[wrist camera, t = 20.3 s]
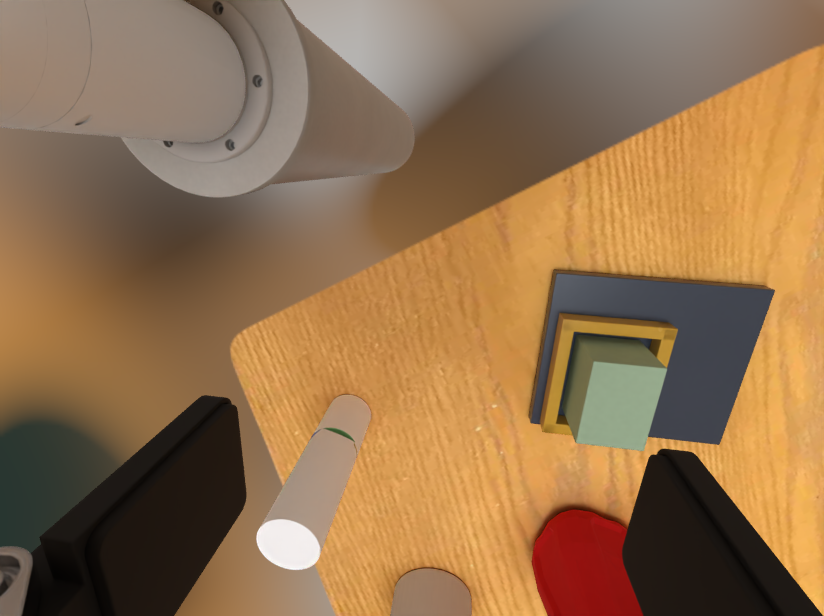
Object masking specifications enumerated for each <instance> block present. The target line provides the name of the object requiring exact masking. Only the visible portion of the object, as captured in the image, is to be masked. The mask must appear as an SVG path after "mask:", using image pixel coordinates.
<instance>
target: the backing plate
mask: <svg viewBox="0 0 824 616" xmlns="http://www.w3.org/2000/svg"><path fill="white" fill-rule="evenodd" d="M774 292H775V290H773V289H771V288H768V287H766V286H759V285H746V284H733V283H720V282H707V281H694V280H681V279H668V278H655V277H642V276H629V275H616V274H603V273H590V272H577V271H564V270H554V271H553V277H552V283H551V288H550V294H549V300H548V306H547V312H546V318H545V324H544V330H543V336H542V341H541V347H540V353H539V359H538V365H537V371H536V377H535V383H534V389H533V394H532V400H531V406H530V412H529V418H530V422H531V423H533V424H540V425H541V428H542V432H546V433H555V434H564V435H573V434H572V432H571V429H570V427H569V424H568V422H567V419H566V416H565V414H564V411H563V409H562V404H563V399H564V394H565V389H566V384H567V379H568V374H569V369H570V364H571V359H572V354H573V349H574V344H575V339H576V335H587V336H597V337H608V338H619V339H630V340H639V341H641V342H642V343H643V344H644V346H645V347H646V348H647V349H648V350H649V351H650V352H651V353H652V354H653V355H654V356H655V357H656V358H657V359H658V360H659V361H660V362H661V363H662V364H663V365H664V366H665V367H666V368H667V372H666V375H665V379H664V382H663V386H662V389H661V393H660V396H659V400H658V403H657V406H656V410H655V413H654V417H653V420H652V424H651V427H650V431H649V434H648V437H656V438H665V439H673V440H682V441H691V442H700V443H708V444H717V445H719V444H720V441H721V439H722V436H723V433H724V430H725V428H726V425H727V422H728V419H729V416H730V414H731V411H732V408H733V405H734V403H735V400H736V397H737V394H738V392H739V389H740V386H741V383H742V380H743V378H744V375H745V372H746V369H747V367H748V364H749V361H750V358H751V356H752V353H753V350H754V347H755V344H756V342H757V339H758V336H759V333H760V331H761V328H762V325H763V322H764V320H765V317H766V314H767V311H768V308H769V306H770V303H771V300H772V297H773V295H774Z"/></svg>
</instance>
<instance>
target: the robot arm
mask: <svg viewBox="0 0 824 616" xmlns="http://www.w3.org/2000/svg"><path fill="white" fill-rule="evenodd" d="M222 10H223V13H222ZM261 80H263V85H262V86H261V84H260V82H261ZM271 103H272V75H271V70H270V64H269V60H268V57H267V55H266V52H265V49H264V46H263V44H262V42H261V40H260V38H259V36H258V34H257V33H256V31H255V29H254V28H253V27H252V25H251V24H250V23H249V21H248V20H247V19H246V17H245V16H244V15H243V14H242V13H241V12H240V11H239V10H238V9H236V8H235V7H234V6H233V5H232V4H231V3H229V2H228V1H227V0H0V127H4V128H18V129H26V130H38V131H51V132H64V133H77V134H90V135H102V136H114V137H127V138H140V139H152V140H153V141H155V142H156V143H157V144H158V145H159V146H161V147H162V148H163V149H165V150H166V151H168V152H170V153H171V154H173V155H175V156H177V157H180V158H182V159H185V160H188V161H193V162H199V163H217V162H223V161H228V160H230V159H232V158H235V157H237V156H239V155H241V154H242V153H243V152H245V151H246V150H248V149H249V148H250V147H251V146H252V145H253V143H254V142H255V141H256V140H257V139H258V138H259V136H260V134H261V132H262V131H263V129H264V127H265V125H266V122H267V119H268V116H269V113H270V109H271ZM234 143H235V148H234ZM245 502H246V485H245V477H244V466H243V457H242V448H241V438H240V429H239V419H238V411H237V407H236V406H235V405H232V404H231V401H230V399H228V398H224V397H215V396H207V395H205V396H201V397H200V398H198V399H197V400H196V401H195V402H194V403H193V404H192V405H190V406H189V407H188V408H187V409H186V410H185V411H184V412H182V413H181V414H180V415H179V416H178V417H177V418H176V419H174V420H173V421H172V422H171V423H170V424H169V425H168V426H166V427H165V428H164V429H163V430H162V431H161V432H159V433H158V434H157V435H156V436H155V437H154V438H153V439H151V440H150V441H149V442H148V443H147V444H146V445H145V446H144V447H142V448H141V449H140V450H139V451H138V452H137V453H136V454H134V455H133V456H132V457H131V458H130V459H129V460H127V462H125V463H124V464H123V465H122V466H121V467H120V468H118V469H117V470H116V471H115V472H114V473H113V474H111V476H109V477H108V478H107V479H106V480H105V481H103V482H102V483H101V484H100V485H99V486H98V487H97V488H95V489H94V490H93V491H92V492H91V493H90V494H89V495H87V496H86V497H85V498H84V499H83V500H82V501H80V502H79V503H78V504H77V505H76V506H75V507H74V508H72V509H71V510H70V511H69V512H68V513H67V514H66V515H65V516H63V517H62V518H61V519H60V520H59V521H58V522H57V523H55V524H54V525H53V526H52V527H51V528H50V529H48V530H47V531H46V532H45V533H44V534H43V535H42V536H40V541H41V545H40V546H38V547H37V548H36V549H35V550H34V551H33V552H32V553H31V554H30V553H29V552H28V551H27V550H26V549H23V548H19V547H15V546H14V547H0V616H174V615H175V614H176V612H177V610H178V609H179V607H180V606H181V604H182V603H183V601H184V599H185V598H186V597H187V595H188V593H189V592H190V590H191V589H192V587H193V586H194V584H195V582H196V581H197V579H198V578H199V576H200V575H201V573H202V572H203V570H204V569H205V567H206V565H207V564H208V562H209V561H210V559H211V558H212V556H213V555H214V553H215V552H216V550H217V549H218V547H219V546H220V544H221V542H222V541H223V539H224V538H225V536H226V535H227V533H228V532H229V530H230V529H231V527H232V525H233V524H234V522H235V521H236V519H237V518H238V516H239V515H240V513H241V511H242V510H243V507H244V505H245ZM622 559H623V564H624V567H625V570H626V572H627V575H628V578H629V580H630V583H631V585H632V588H633V590H634V593H635V595H636V598H637V601H638V603H639V606H640V608H641V611H642V613H643V616H823V615H822V614H821V613H820V611H819V610H818V609H817V608H816V606H815V605H814V604H813V603H812V601H811V600H810V599H809V597H808V596H807V595H806V594H805V592H804V591H803V590H802V589H801V587H800V586H799V585H798V584H797V582H796V581H795V580H794V578H793V577H792V576H791V575H790V573H789V572H788V571H787V570H786V568H785V567H784V566H783V565H782V563H781V562H780V561H779V559H778V558H777V557H776V556H775V554H774V553H773V552H772V551H771V549H770V548H769V547H768V546H767V544H766V543H765V542H764V540H763V539H762V538H761V537H760V535H759V534H758V533H757V532H756V530H755V529H754V528H753V527H752V525H751V524H750V523H749V521H748V520H747V519H746V518H745V516H744V515H743V514H742V513H741V511H740V510H739V509H738V508H737V506H736V505H735V504H734V503H733V501H732V500H731V499H730V497H729V496H728V495H727V494H726V492H725V491H724V490H723V489H722V487H721V486H720V485H719V484H718V482H717V481H716V480H715V478H714V477H713V476H712V475H711V473H710V472H709V471H708V470H707V468H706V467H705V466H704V465H703V463H702V462H701V461H700V459H699V458H698V457H697V456H696V455H695V454H694V453H692V452H688V451H679V450H670V449H661V450H660V451H659V452H658V453H657V455H651V456H650V457H649V459H648V462H647V466H646V469H645V473H644V476H643V479H642V483H641V486H640V490H639V493H638V496H637V500H636V503H635V506H634V510H633V513H632V517H631V520H630V523H629V527H628V530H627V533H626V537H625V540H624V544H623V548H622Z"/></svg>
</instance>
